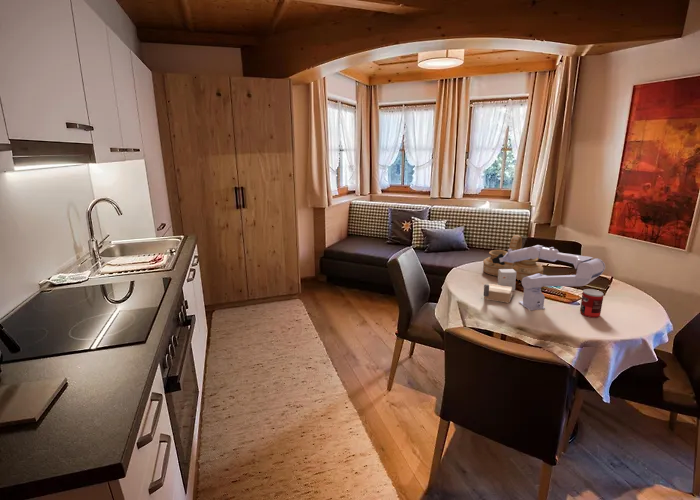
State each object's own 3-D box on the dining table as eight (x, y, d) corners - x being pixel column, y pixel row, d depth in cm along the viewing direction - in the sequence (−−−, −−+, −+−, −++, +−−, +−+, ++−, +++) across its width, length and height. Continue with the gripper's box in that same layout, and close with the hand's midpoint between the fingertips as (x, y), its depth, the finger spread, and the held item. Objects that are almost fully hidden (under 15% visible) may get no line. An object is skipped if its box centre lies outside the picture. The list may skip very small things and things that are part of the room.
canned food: (581, 308, 173) (584, 287, 170) (601, 313, 168) (604, 291, 165) (578, 314, 167) (581, 292, 164) (599, 319, 162) (602, 296, 159)
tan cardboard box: (509, 302, 182) (510, 285, 179) (507, 306, 177) (509, 289, 175) (484, 298, 188) (485, 281, 185) (482, 302, 183) (483, 285, 180)
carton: (511, 295, 190) (512, 286, 188) (509, 302, 182) (510, 293, 181) (487, 292, 196) (488, 283, 194) (484, 298, 188) (484, 289, 187)
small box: (511, 286, 202) (513, 268, 199) (515, 290, 196) (516, 272, 193) (496, 286, 203) (498, 268, 200) (499, 290, 197) (501, 272, 194)
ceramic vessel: (477, 274, 223) (479, 234, 216) (489, 266, 236) (491, 228, 229) (536, 286, 201) (542, 243, 194) (546, 277, 214) (551, 236, 207)
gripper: (526, 244, 183) (504, 249, 195) (507, 250, 176) (486, 255, 188) (530, 257, 182) (508, 262, 194) (511, 264, 176) (490, 268, 188)
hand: (497, 259), depth 191 cm, fingers open, 7 cm apart
